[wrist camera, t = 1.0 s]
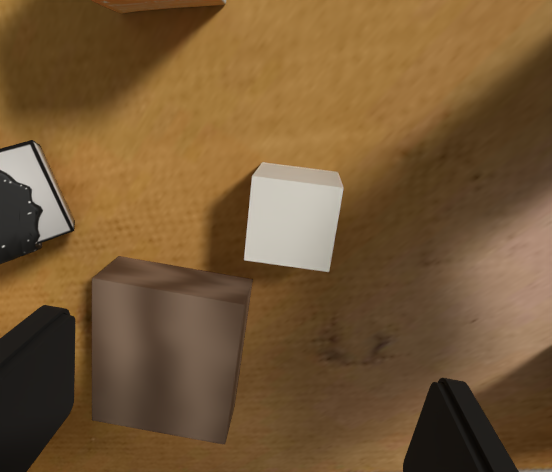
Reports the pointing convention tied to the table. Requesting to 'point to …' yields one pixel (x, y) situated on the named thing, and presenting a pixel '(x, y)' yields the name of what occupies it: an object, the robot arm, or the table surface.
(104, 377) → the walnut block
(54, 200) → the black and white piece
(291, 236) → the white cube
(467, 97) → the table surface
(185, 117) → the table surface
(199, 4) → the small box
